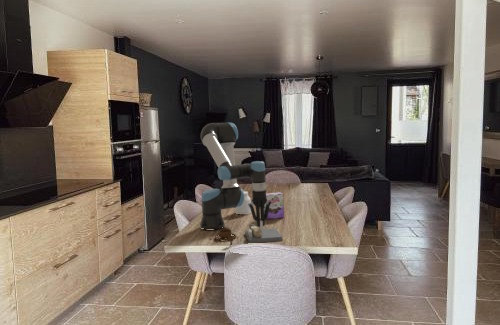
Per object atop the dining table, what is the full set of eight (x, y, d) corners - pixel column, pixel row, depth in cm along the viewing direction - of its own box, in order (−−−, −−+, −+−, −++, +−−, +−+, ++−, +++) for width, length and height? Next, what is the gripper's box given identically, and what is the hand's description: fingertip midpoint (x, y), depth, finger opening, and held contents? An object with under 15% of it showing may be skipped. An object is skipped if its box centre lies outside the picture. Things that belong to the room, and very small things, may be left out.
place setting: (243, 236, 214) (243, 226, 213) (234, 248, 195) (233, 237, 194) (214, 235, 218) (213, 225, 218) (202, 246, 199) (201, 236, 198)
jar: (251, 211, 271) (250, 191, 269) (250, 214, 262) (249, 193, 260) (235, 211, 272) (235, 191, 270) (234, 215, 262) (233, 194, 261)
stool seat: (249, 242, 200) (248, 233, 200) (245, 233, 217) (244, 225, 216) (282, 240, 203) (281, 231, 202) (275, 231, 219) (275, 223, 219)
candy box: (264, 219, 247) (263, 195, 245) (261, 217, 253) (261, 193, 251) (284, 217, 250) (283, 193, 249) (281, 215, 256) (280, 191, 254)
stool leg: (248, 230, 216) (248, 224, 216) (254, 229, 217) (254, 224, 217) (256, 237, 201) (256, 231, 201) (261, 237, 202) (261, 231, 202)
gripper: (250, 192, 198) (252, 235, 200) (272, 189, 202) (274, 232, 205) (245, 190, 205) (247, 232, 207) (267, 187, 209) (269, 228, 212)
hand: (261, 232), depth 206 cm, fingers closed
